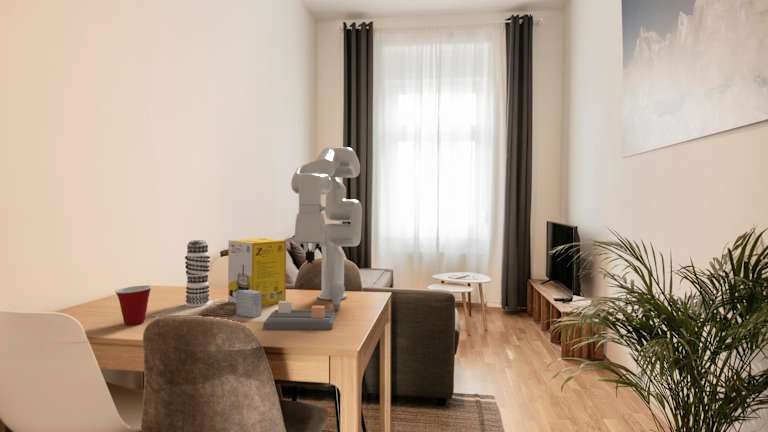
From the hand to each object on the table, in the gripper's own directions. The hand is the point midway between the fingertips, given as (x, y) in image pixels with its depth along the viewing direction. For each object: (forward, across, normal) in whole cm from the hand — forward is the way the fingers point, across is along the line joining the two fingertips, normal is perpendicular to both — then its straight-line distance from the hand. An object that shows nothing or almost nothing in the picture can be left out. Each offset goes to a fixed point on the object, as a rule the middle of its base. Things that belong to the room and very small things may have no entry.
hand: (310, 262), depth 159 cm
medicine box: (+20, +22, -6) cm, 31 cm away
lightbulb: (+21, -8, -14) cm, 26 cm away
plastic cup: (+20, +58, +5) cm, 61 cm away
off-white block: (+18, +9, +1) cm, 20 cm away
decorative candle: (+21, +46, -23) cm, 56 cm away
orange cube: (+17, -4, +8) cm, 19 cm away
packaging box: (+21, +24, -28) cm, 43 cm away
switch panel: (+20, +3, +4) cm, 21 cm away
